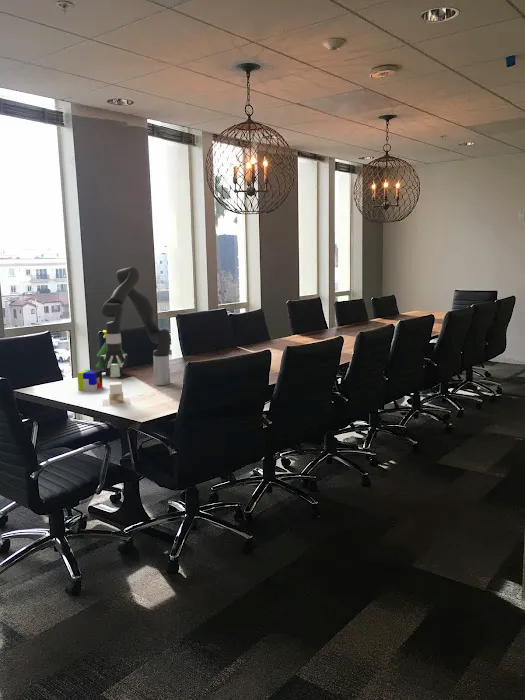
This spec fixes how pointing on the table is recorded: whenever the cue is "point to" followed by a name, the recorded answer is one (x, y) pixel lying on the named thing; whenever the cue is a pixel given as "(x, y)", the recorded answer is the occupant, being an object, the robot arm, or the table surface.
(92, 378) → the puzzle toy
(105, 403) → the felt mat
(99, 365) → the decorative tree
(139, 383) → the table surface
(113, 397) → the tower base
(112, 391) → the tower mid
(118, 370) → the pale green block
